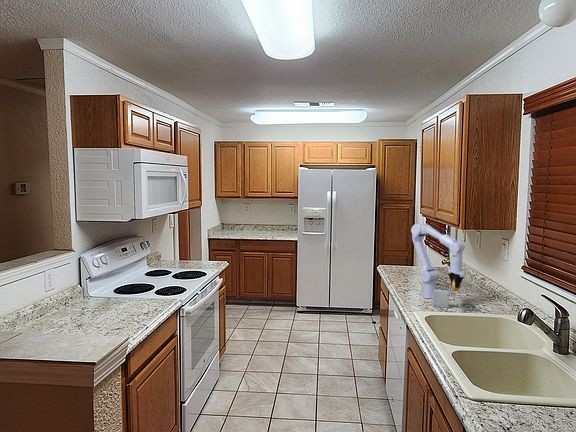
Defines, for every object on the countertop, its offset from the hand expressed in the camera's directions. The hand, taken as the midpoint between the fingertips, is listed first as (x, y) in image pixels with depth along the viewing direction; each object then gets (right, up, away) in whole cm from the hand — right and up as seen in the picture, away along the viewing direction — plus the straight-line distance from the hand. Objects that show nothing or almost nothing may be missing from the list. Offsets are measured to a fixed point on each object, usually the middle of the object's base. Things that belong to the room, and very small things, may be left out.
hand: (455, 287), depth 218 cm
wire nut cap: (0, -2, 0) cm, 2 cm away
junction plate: (+4, -10, -7) cm, 13 cm away
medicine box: (-10, -10, -5) cm, 15 cm away
